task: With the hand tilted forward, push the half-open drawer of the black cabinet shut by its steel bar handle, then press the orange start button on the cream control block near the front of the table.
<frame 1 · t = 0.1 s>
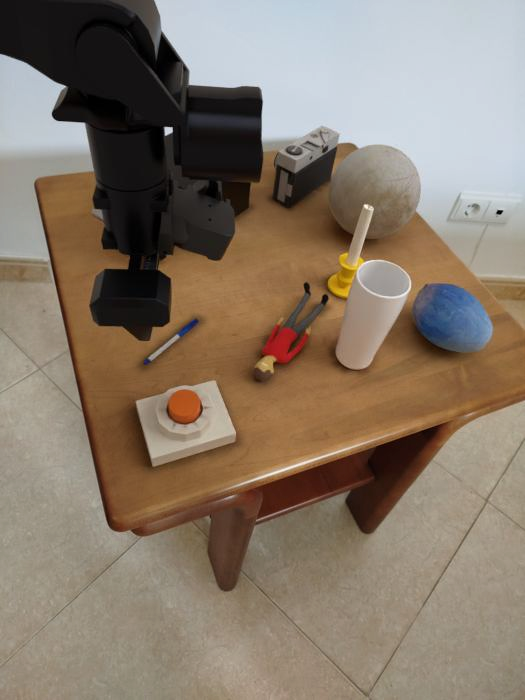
hand: (148, 306, 51), 15 cm above the table, tool pointing down, fingers open, 9 cm apart
person figure: (288, 340, 70), on the table
candle: (343, 287, 77), on the table
button block: (185, 426, 59), on the table
black cabinet: (191, 210, 86), on the table
decorative sphere: (362, 230, 87), on the table
drinking glass: (352, 357, 69), on the table
start button: (184, 406, 56), point 4 cm above the table, slide at 0.1 cm
drawer: (154, 206, 77), point 5 cm above the table, slide at 5.0 cm
camera: (294, 186, 94), on the table
egg: (430, 331, 73), on the table
ballpoint pen: (172, 343, 67), on the table
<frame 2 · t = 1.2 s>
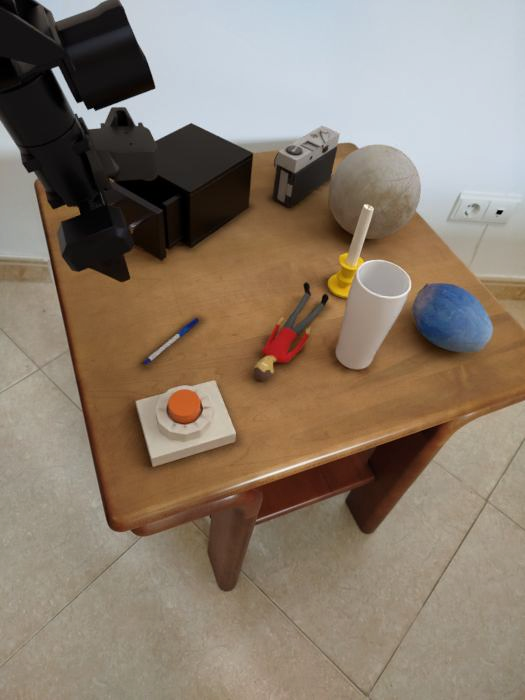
hand: (117, 253, 55), 15 cm above the table, tool tilted 15°, fingers open, 9 cm apart
nothing on the table moved.
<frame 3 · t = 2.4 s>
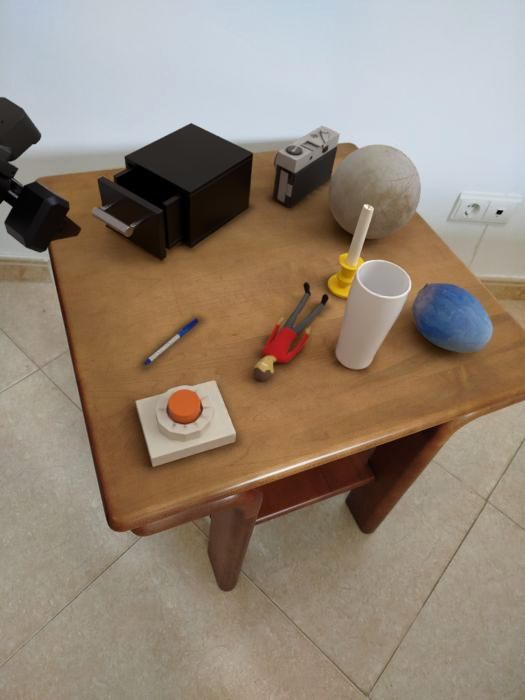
hand: (55, 214, 61), 14 cm above the table, tool tilted 40°, fingers open, 9 cm apart
nothing on the table moved.
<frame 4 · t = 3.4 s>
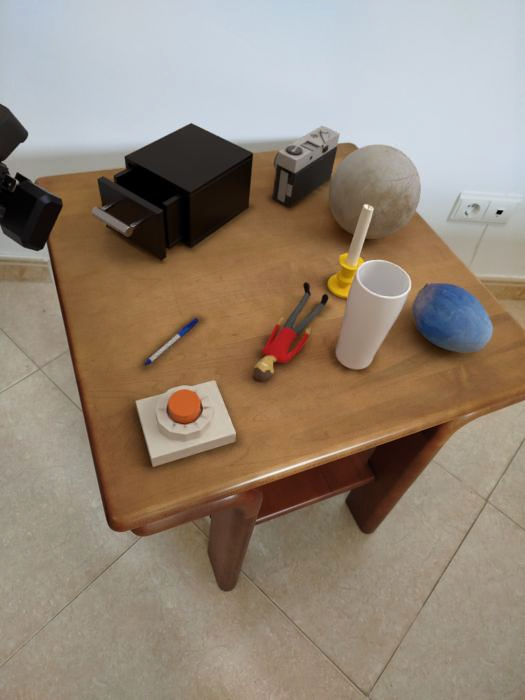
hand: (47, 210, 61), 14 cm above the table, tool tilted 45°, fingers closed
nothing on the table moved.
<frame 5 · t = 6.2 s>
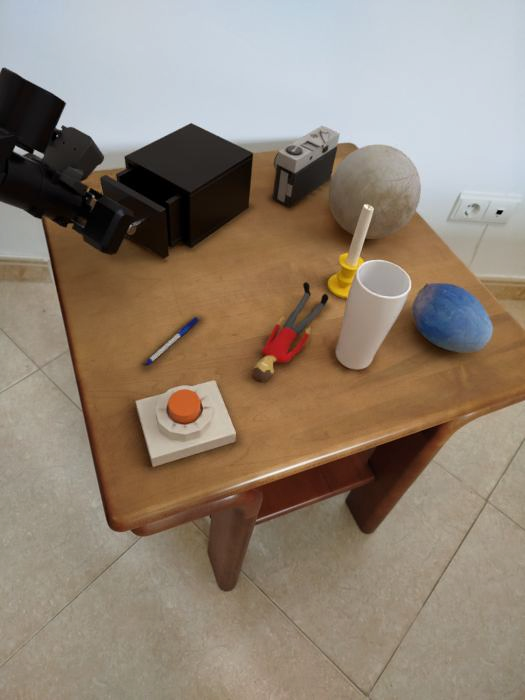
hand: (110, 219, 71), 7 cm above the table, tool tilted 45°, fingers closed, pressing on drawer
drawer: (156, 204, 77), point 5 cm above the table, slide at 4.4 cm, touching gripper
everything else where it was.
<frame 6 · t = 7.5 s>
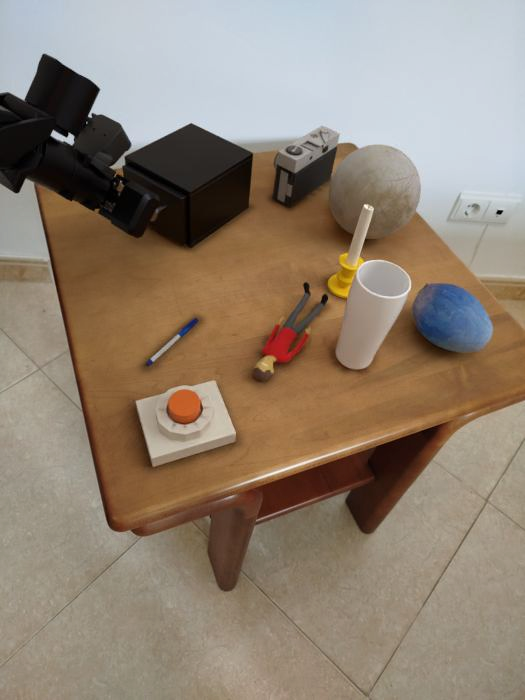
hand: (133, 206, 73), 7 cm above the table, tool tilted 45°, fingers closed, pressing on drawer
drawer: (175, 193, 80), point 5 cm above the table, slide at 0.0 cm, touching black cabinet, gripper
everything else where it was.
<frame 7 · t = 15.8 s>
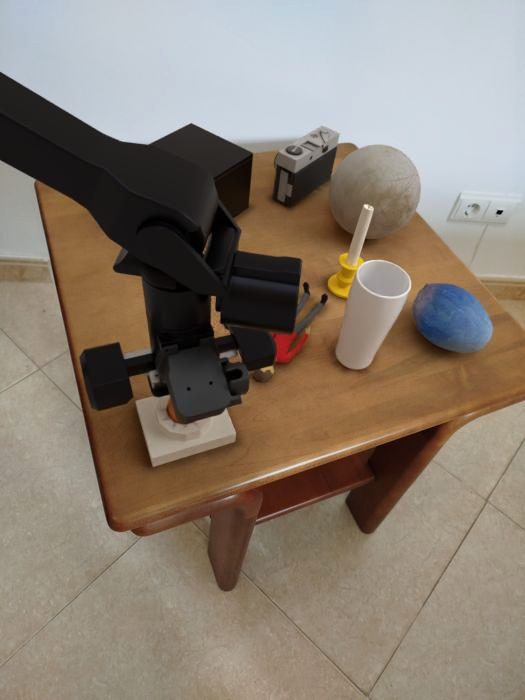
hand: (183, 402, 55), 5 cm above the table, tool pointing down, fingers closed, pressing on start button
start button: (184, 406, 56), point 4 cm above the table, slide at 0.1 cm, touching gripper
drawer: (175, 193, 80), point 5 cm above the table, slide at 0.0 cm, touching black cabinet
everything else where it was.
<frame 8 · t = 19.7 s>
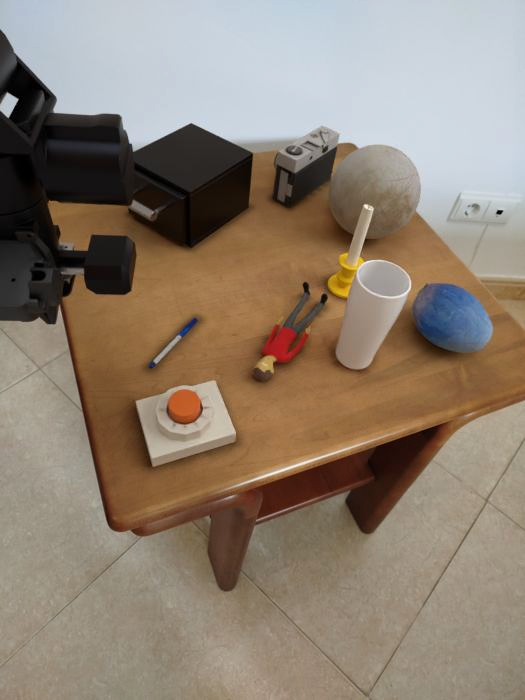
hand: (52, 321, 52), 12 cm above the table, tool pointing down, fingers closed
start button: (184, 406, 56), point 4 cm above the table, slide at 0.1 cm
everything else where it was.
at the end: drawer slide at 0.0 cm; start button pushed in 1.1 cm at the most during the clip, back to where it started at the end; start button slide at 0.1 cm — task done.
